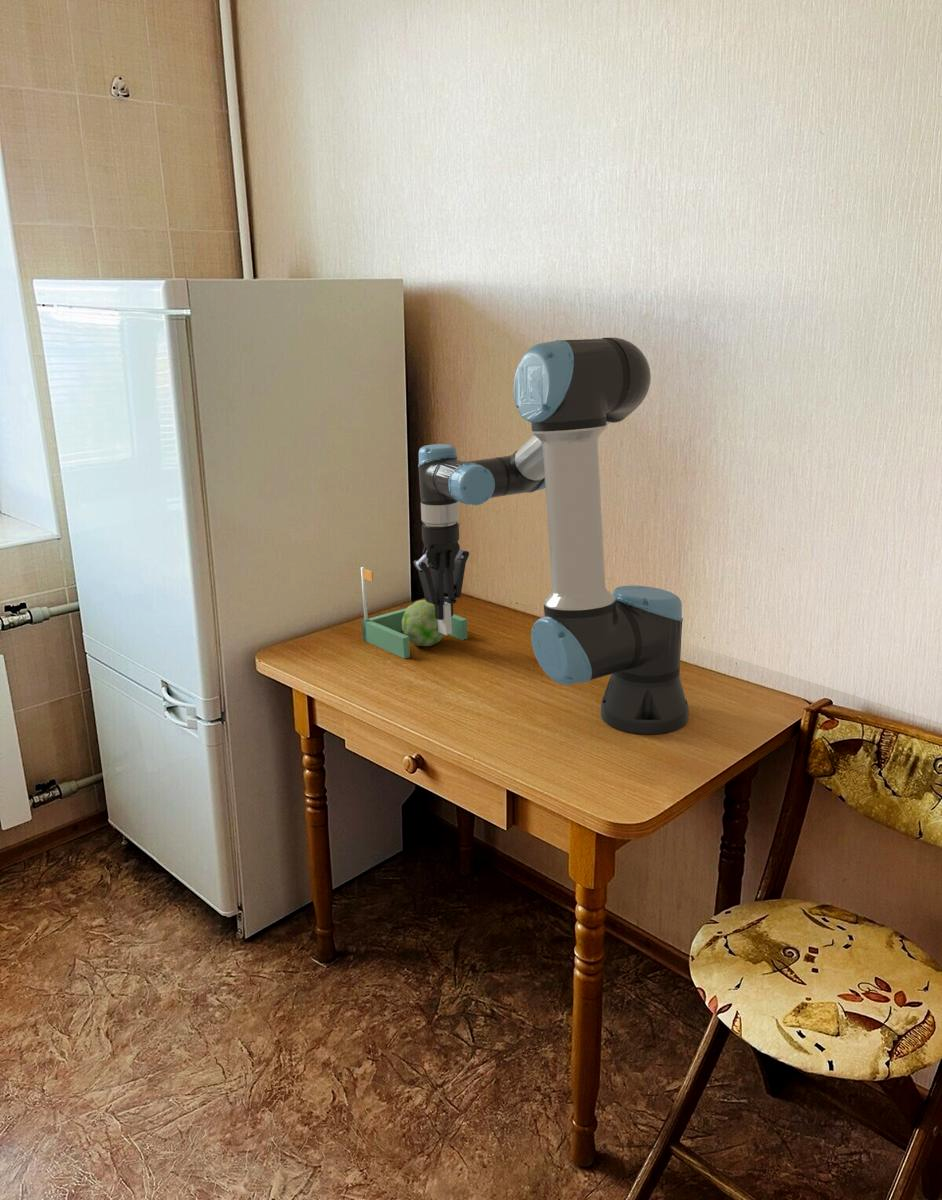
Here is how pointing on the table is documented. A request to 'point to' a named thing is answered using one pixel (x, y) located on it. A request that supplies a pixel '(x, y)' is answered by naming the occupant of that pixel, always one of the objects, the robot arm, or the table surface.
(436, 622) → the decorative ball
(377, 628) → the cup
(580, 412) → the robot arm
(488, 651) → the table surface
